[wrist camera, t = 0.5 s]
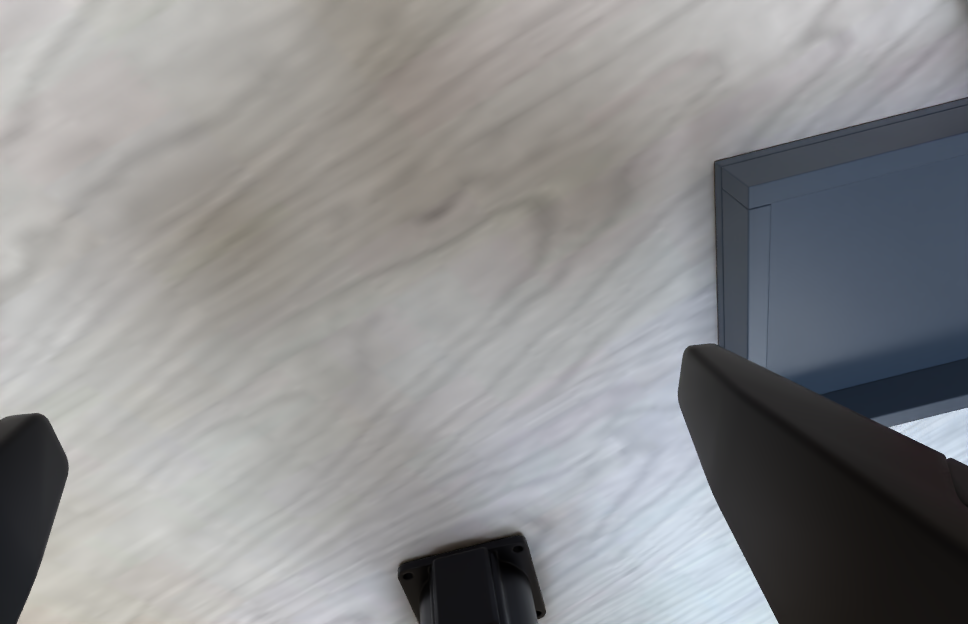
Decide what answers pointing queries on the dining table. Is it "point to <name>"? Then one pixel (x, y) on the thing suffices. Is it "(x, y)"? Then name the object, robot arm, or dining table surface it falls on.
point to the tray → (853, 263)
